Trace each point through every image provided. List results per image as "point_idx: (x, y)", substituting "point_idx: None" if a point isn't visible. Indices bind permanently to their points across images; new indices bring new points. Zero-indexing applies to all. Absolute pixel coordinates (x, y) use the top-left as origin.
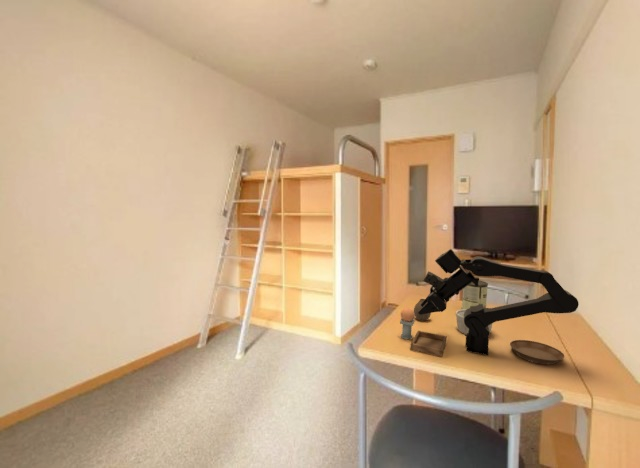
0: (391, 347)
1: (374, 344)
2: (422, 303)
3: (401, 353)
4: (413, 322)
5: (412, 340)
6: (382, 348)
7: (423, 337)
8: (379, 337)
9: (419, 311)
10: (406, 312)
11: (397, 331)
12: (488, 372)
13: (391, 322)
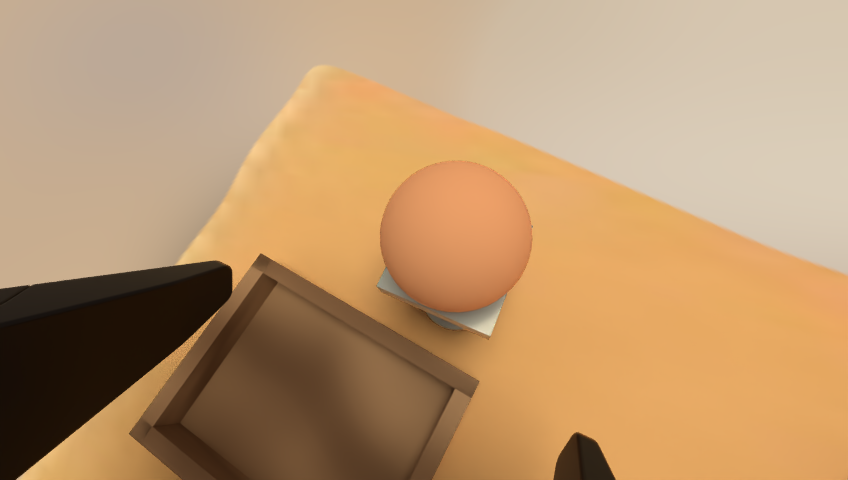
0: (320, 177)
1: (358, 108)
2: (575, 468)
3: (250, 211)
4: (406, 299)
5: (303, 279)
6: (313, 136)
7: (436, 411)
8: (444, 139)
9: (190, 269)
10: (398, 191)
11: (548, 256)
12: None
13: (726, 252)
